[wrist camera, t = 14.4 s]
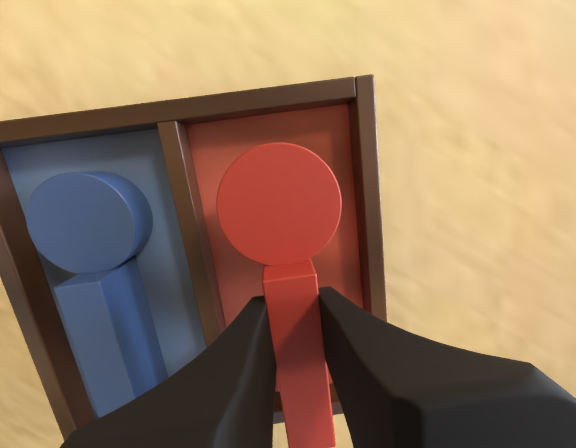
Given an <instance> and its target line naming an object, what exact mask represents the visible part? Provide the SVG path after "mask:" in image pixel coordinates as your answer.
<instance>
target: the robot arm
mask: <svg viewBox="0 0 576 448" xmlns="http://www.w3.org/2000/svg"><path fill="white" fill-rule="evenodd" d="M318 292H319V294H318V299H319V308H320V317H321V325H322V334H323V343H324V352H325V361H326V364H327V367H328V370H329V373H330V375H331V378H332V381H333V384H334V387H335V390H336V393H337V396H338V398H339V401H340V404H341V407H342V410H343V413H344V416H345V419H346V422H347V425H348V428H349V432H350V435H351V439H352V443H353V447H354V448H576V398H575V397H573V396H572V395H571V394H569V393H568V392H567V391H566V390H564V389H563V388H562V387H561V386H559V385H558V384H557V383H555V382H554V381H553V380H552V379H550V378H549V377H548V376H546V375H545V374H544V373H543V372H541V371H540V370H539V369H538V368H536V367H535V366H534V365H532V364H531V363H528V362H522V361H517V360H512V359H507V358H501V357H496V356H491V355H485V354H480V353H476V352H472V351H468V350H464V349H460V348H456V347H453V346H449V345H446V344H442V343H439V342H436V341H433V340H430V339H427V338H424V337H421V336H418V335H415V334H413V333H410V332H408V331H405V330H403V329H401V328H398V327H396V326H394V325H392V324H390V323H387V322H385V321H383V320H381V319H380V318H378V317H376V316H374V315H372V314H371V313H369V312H367V311H365V310H364V309H362V308H361V307H359V306H357V305H356V304H354V303H353V302H352V301H350V300H349V299H347V298H346V297H344V296H343V295H342V294H340V293H339V292H338V291H336V290H335V289H334V288H332V287H331V286H326V287H319V288H318ZM276 372H277V367H276V361H275V355H274V348H273V342H272V336H271V330H270V324H269V317H268V311H267V305H266V302H265V298H264V295H263V296H256V297H252V298H251V299H250V300H249V302H248V303H247V304H246V305H245V307H244V308H243V309H242V310H241V312H240V313H239V314H238V315H237V317H236V318H235V319H234V320H233V321H232V323H231V324H230V325H229V326H228V327H227V328H226V329H225V330H224V331H223V332H222V333H221V334H220V335H219V337H218V338H217V339H216V340H215V341H214V342H213V343H212V344H210V345H209V346H208V347H207V348H206V349H205V350H204V351H203V352H201V353H200V354H199V355H198V356H197V357H196V358H194V359H193V360H192V361H191V362H189V363H188V364H187V365H185V366H184V367H182V368H181V369H180V370H178V371H177V372H176V373H174V374H173V375H171V376H170V377H169V378H167V379H166V380H164V381H163V382H161V383H160V384H158V385H157V386H155V387H154V388H152V389H151V390H149V391H147V392H146V393H144V394H142V395H141V396H139V397H137V398H136V399H134V400H132V401H131V402H129V403H127V404H125V405H123V406H122V407H120V408H118V409H116V410H114V411H112V412H110V413H108V414H106V415H104V416H102V417H100V418H99V419H97V420H95V421H93V422H91V423H89V424H87V425H85V426H83V427H81V428H79V429H77V430H75V431H73V432H71V433H70V435H69V436H68V437H67V439H66V440H65V441H64V443H63V444H62V445H61V447H60V448H272V437H273V418H274V403H275V388H276Z"/></svg>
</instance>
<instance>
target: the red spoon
mask: <svg viewBox="0 0 576 448" xmlns="http://www.w3.org/2000/svg"><path fill="white" fill-rule="evenodd" d="M341 208H342V202H341V193H340V189H339V185H338V182H337V180H336V178H335V175H334V174H333V172H332V171H331V169H330V168H329V166H328V165H327V164H326V163H325V162H324V161H323V160H322V159H321V158H320V157H319V156H318V155H316V154H315V153H313V152H312V151H310V150H308V149H306V148H304V147H301V146H299V145H296V144H291V143H283V142H275V143H267V144H262V145H259V146H256V147H254V148H252V149H250V150H248V151H246V152H245V153H243V154H242V155H240V156H239V157H238V158H237V159H236V160H235V161H234V162H233V163H232V164H231V165H230V166H229V167H228V169H227V170H226V172H225V174H224V175H223V177H222V180H221V182H220V185H219V188H218V192H217V198H216V210H217V217H218V221H219V224H220V227H221V229H222V232H223V233H224V235H225V237H226V239H227V240H228V241H229V242H230V244H231V245H232V246H233V247H234V248H235V249H236V250H237V251H238V252H239V253H241V254H242V255H243V256H245V257H247V258H248V259H250V260H252V261H255V262H257V263H260V264H263V265H264V268H263V278H262V286H263V292H264V298H265V302H266V305H267V311H268V317H269V324H270V330H271V336H272V342H273V348H274V355H275V361H276V367H277V378H278V384H279V390H280V396H281V403H282V409H283V415H284V421H285V427H286V433H287V439H288V446H289V448H331V447H335V445H336V442H335V433H334V424H333V415H332V407H331V398H330V389H329V380H328V371H327V364H326V361H325V352H324V343H323V334H322V325H321V317H320V308H319V299H318V294H319V292H318V283H317V275H316V272H315V269H314V267H313V264H312V261H311V259H310V258H311V257H313V256H314V255H316V254H317V253H318V252H320V251H321V250H322V249H323V248H324V247H325V246H326V245H327V244H328V242H329V241H330V239H331V238H332V237H333V235H334V233H335V231H336V229H337V226H338V224H339V220H340V216H341Z"/></svg>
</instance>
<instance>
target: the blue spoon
mask: <svg viewBox="0 0 576 448" xmlns="http://www.w3.org/2000/svg"><path fill="white" fill-rule="evenodd" d="M26 223H27V228H28V232H29V235H30V237H31V239H32V241H33V243H34V245H35V246H36V248H37V249H38V250H39V252H40V253H41V254H42V255H43V256H44V257H45V258H47V259H48V260H49V261H50V262H52V263H53V264H55V265H56V266H58V267H60V268H62V269H64V270H67V271H69V272H73V273H77V275H76V276H74V277H72V278H70V279H69V280H67V281H65V282H63V283H62V284H60V285H58V286H56V287H55V288H54V290H55V293H56V296H57V299H58V302H59V305H60V308H61V311H62V314H63V316H64V319H65V322H66V325H67V328H68V331H69V334H70V337H71V339H72V342H73V345H74V348H75V351H76V354H77V357H78V360H79V362H80V365H81V368H82V371H83V374H84V377H85V380H86V383H87V385H88V388H89V391H90V394H91V397H92V400H93V403H94V406H95V408H96V411H97V414H98V417H99V418H100V417H102V416H104V415H106V414H108V413H110V412H112V411H114V410H116V409H118V408H120V407H122V406H123V405H125V404H127V403H129V402H131V401H132V400H134V399H136V398H137V397H139V396H141V395H142V394H144V393H146V392H147V391H149V390H151V389H152V388H154V387H155V386H157V385H158V384H160V383H161V382H163V381H164V380H166V379H167V378H168V375H167V371H166V367H165V363H164V360H163V356H162V352H161V348H160V345H159V341H158V337H157V333H156V330H155V326H154V322H153V318H152V315H151V311H150V307H149V303H148V300H147V296H146V292H145V288H144V285H143V281H142V277H141V273H140V270H139V266H138V262H137V258H136V257H133V256H134V255H136V254H137V253H138V252H140V251H141V250H142V249H143V248H144V246H145V245H146V244H147V242H148V240H149V238H150V236H151V233H152V229H153V216H152V211H151V207H150V205H149V203H148V200H147V199H146V197H145V196H144V194H143V193H142V192H141V190H140V189H139V188H138V187H137V186H136V185H134V184H133V183H132V182H131V181H129V180H128V179H126V178H124V177H122V176H120V175H117V174H114V173H111V172H105V171H91V172H71V173H63V174H58V175H56V176H53V177H51V178H49V179H47V180H45V181H44V182H43V183H41V184H40V185H39V186H38V187H37V188H36V189H35V191H34V192H33V193H32V195H31V197H30V199H29V202H28V205H27V210H26Z"/></svg>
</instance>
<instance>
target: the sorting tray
mask: <svg viewBox="0 0 576 448" xmlns="http://www.w3.org/2000/svg"><path fill="white" fill-rule="evenodd" d="M275 142H283V143H291V144H296V145H299V146H301V147H304V148H306V149H308V150H310V151H312V152H313V153H315V154H316V155H318V156H319V157H320V158H321V159H322V160H323V161H324V162H325V163H326V164H327V165H328V166H329V168H330V169H331V171H332V172H333V174H334V175H335V178H336V180H337V182H338V185H339V189H340V193H341V202H342V208H341V216H340V220H339V224H338V226H337V229H336V231H335V233H334V235H333V237H332V238H331V239H330V241H329V242H328V244H327V245H326V246H325V247H324V248H323V249H322V250H321V251H320V252H318V253H317V254H316V255H314V256H313V257H311V258H310V259H311V261H312V264H313V267H314V269H315V272H316V275H317V283H318V288H319V287H326V286H331V287H332V288H334V289H335V290H336V291H338V292H339V293H340V294H342V295H343V296H344V297H346V298H347V299H349V300H350V301H352V302H353V303H354V304H356V305H357V306H359V307H361V308H362V309H364V310H365V311H367V312H369V313H371V314H372V315H374V316H376V317H378V318H380V319H381V320H383V321H385V322H387V313H386V294H385V276H384V257H383V238H382V220H381V201H380V182H379V164H378V145H377V126H376V108H375V89H374V75H364V76H356V77H355V78H354V77H347V78H339V79H331V80H323V81H315V82H308V83H300V84H292V85H284V86H276V87H268V88H260V89H252V90H244V91H236V92H228V93H220V94H213V95H205V96H197V97H189V98H181V99H173V100H165V101H157V102H149V103H141V104H133V105H125V106H118V107H110V108H102V109H94V110H86V111H78V112H70V113H62V114H54V115H46V116H38V117H30V118H23V119H15V120H7V121H0V277H1V280H2V282H3V285H4V287H5V290H6V292H7V295H8V297H9V300H10V303H11V305H12V308H13V310H14V313H15V315H16V318H17V321H18V323H19V326H20V328H21V331H22V333H23V336H24V338H25V341H26V344H27V346H28V349H29V351H30V354H31V356H32V359H33V362H34V364H35V367H36V369H37V372H38V374H39V377H40V379H41V382H42V385H43V387H44V390H45V392H46V395H47V397H48V400H49V403H50V405H51V408H52V410H53V413H54V415H55V418H56V420H57V423H58V426H59V428H60V431H61V433H62V436H63V438H64V441H65V440H66V439H67V437H68V436H69V435H70V433H71V432H73V431H75V430H77V429H79V428H81V427H83V426H85V425H87V424H89V423H91V422H93V421H95V420H97V419H99V417H98V414H97V411H96V408H95V406H94V403H93V400H92V397H91V394H90V391H89V388H88V385H87V383H86V380H85V377H84V374H83V371H82V368H81V365H80V362H79V360H78V357H77V354H76V351H75V348H74V345H73V342H72V339H71V337H70V334H69V331H68V328H67V325H66V322H65V319H64V316H63V314H62V311H61V308H60V305H59V302H58V299H57V296H56V293H55V290H54V288H55V287H56V286H58V285H60V284H62V283H63V282H65V281H67V280H69V279H70V278H72V277H74V276H76V275H77V273H73V272H69V271H67V270H64V269H62V268H60V267H58V266H56V265H55V264H53V263H52V262H50V261H49V260H48V259H47V258H45V257H44V256H43V255H42V254H41V253H40V252H39V250H38V249H37V248H36V246H35V245H34V243H33V241H32V239H31V237H30V235H29V232H28V228H27V223H26V210H27V205H28V202H29V199H30V197H31V195H32V193H33V192H34V191H35V189H36V188H37V187H38V186H39V185H40V184H41V183H43V182H44V181H45V180H47V179H49V178H51V177H53V176H56V175H58V174H63V173H71V172H91V171H105V172H111V173H114V174H117V175H120V176H122V177H124V178H126V179H128V180H129V181H131V182H132V183H133V184H134V185H136V186H137V187H138V188H139V189H140V190H141V192H142V193H143V194H144V196H145V197H146V199H147V200H148V203H149V205H150V207H151V211H152V216H153V229H152V233H151V236H150V238H149V240H148V242H147V244H146V245H145V246H144V248H143V249H142V250H141V251H140V252H138V253H137V254H136V255H134V256H133V257H136V258H137V262H138V266H139V270H140V273H141V277H142V281H143V285H144V288H145V292H146V296H147V300H148V303H149V307H150V311H151V315H152V318H153V322H154V326H155V330H156V333H157V337H158V341H159V345H160V348H161V352H162V356H163V360H164V363H165V367H166V371H167V375H168V378H169V377H170V376H171V375H173V374H174V373H176V372H177V371H178V370H180V369H181V368H182V367H184V366H185V365H187V364H188V363H189V362H191V361H192V360H193V359H194V358H196V357H197V356H198V355H199V354H200V353H201V352H203V351H204V350H205V349H206V348H207V347H208V346H209V345H210V344H212V343H213V342H214V341H215V340H216V339H217V338H218V337H219V335H220V334H221V333H222V332H223V331H224V330H225V329H226V328H227V327H228V326H229V325H230V324H231V323H232V321H233V320H234V319H235V318H236V317H237V315H238V314H239V313H240V312H241V310H242V309H243V308H244V307H245V305H246V304H247V303H248V302H249V300H250V299H251V298H252V297H256V296H263V295H264V292H263V286H262V278H263V268H264V265H263V264H260V263H257V262H255V261H252V260H250V259H248V258H247V257H245V256H243V255H242V254H241V253H239V252H238V251H237V250H236V249H235V248H234V247H233V246H232V245H231V244H230V242H229V241H228V240H227V239H226V237H225V235H224V233H223V232H222V229H221V227H220V224H219V221H218V217H217V210H216V198H217V192H218V188H219V185H220V182H221V180H222V177H223V175H224V174H225V172H226V170H227V169H228V167H229V166H230V165H231V164H232V163H233V162H234V161H235V160H236V159H237V158H238V157H239V156H240V155H242V154H243V153H245V152H246V151H248V150H250V149H252V148H254V147H256V146H259V145H262V144H267V143H275ZM327 371H328V380H329V389H330V398H331V407H332V415H336V414H342V413H343V410H342V407H341V404H340V401H339V398H338V396H337V393H336V390H335V387H334V384H333V381H332V378H331V375H330V373H329V370H328V367H327ZM283 422H285V421H284V415H283V409H282V403H281V396H280V390H279V384H278V378H277V372H276V388H275V403H274V418H273V424H276V423H283Z"/></svg>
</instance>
